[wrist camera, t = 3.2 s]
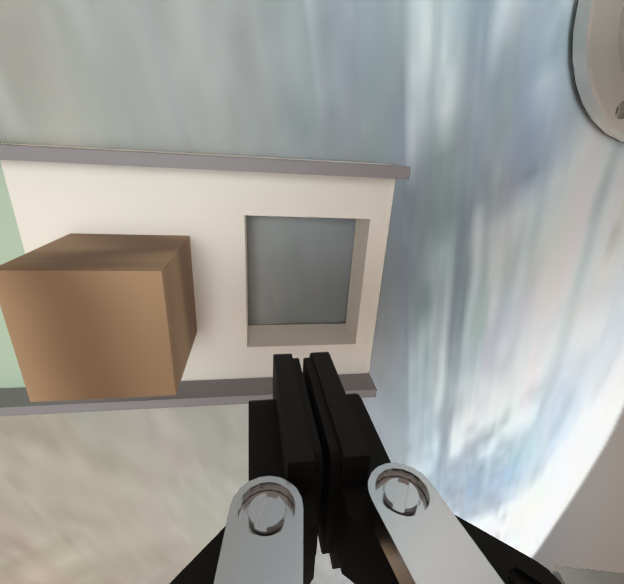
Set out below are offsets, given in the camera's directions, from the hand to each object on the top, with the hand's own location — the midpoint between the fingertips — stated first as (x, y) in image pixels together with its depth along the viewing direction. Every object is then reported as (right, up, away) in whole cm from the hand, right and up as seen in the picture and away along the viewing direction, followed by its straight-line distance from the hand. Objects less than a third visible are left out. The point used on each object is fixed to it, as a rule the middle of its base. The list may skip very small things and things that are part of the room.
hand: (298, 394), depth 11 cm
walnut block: (-8, +3, +6) cm, 10 cm away
